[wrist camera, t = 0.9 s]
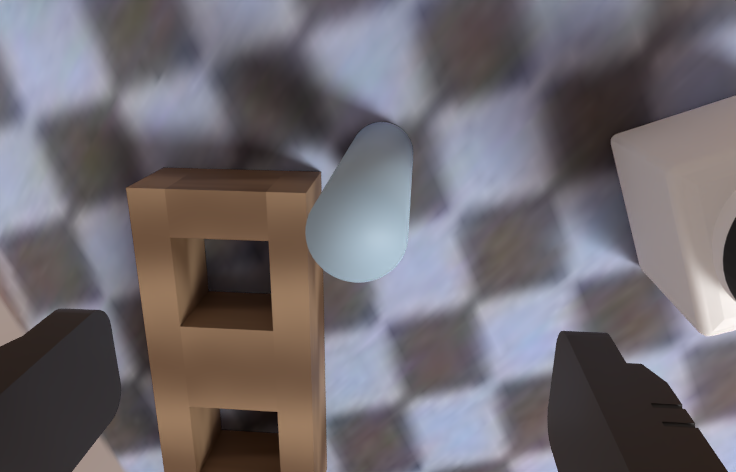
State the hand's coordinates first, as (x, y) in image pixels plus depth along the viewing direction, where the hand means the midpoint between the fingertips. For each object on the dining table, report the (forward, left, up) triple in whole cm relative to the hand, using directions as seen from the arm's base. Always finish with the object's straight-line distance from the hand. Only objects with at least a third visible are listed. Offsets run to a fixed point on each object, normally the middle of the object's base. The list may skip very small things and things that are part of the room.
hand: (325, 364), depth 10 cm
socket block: (+10, -7, -19) cm, 23 cm away
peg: (0, 0, -19) cm, 19 cm away
